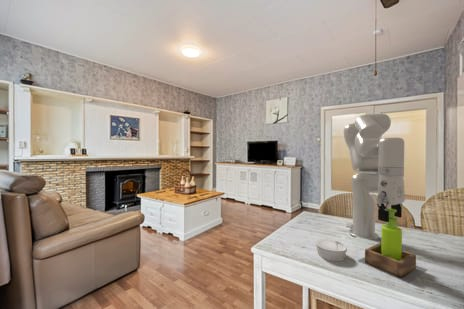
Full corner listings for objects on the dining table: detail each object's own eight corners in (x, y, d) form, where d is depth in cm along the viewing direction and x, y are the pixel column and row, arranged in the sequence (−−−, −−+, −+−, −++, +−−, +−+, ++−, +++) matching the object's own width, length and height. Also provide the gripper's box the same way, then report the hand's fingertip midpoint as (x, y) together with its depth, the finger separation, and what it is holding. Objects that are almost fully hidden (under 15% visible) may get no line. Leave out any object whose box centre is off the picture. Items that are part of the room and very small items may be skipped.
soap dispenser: (379, 257, 81) (380, 205, 81) (402, 263, 76) (403, 209, 76) (376, 262, 77) (376, 208, 77) (400, 270, 72) (400, 212, 72)
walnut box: (364, 262, 79) (365, 249, 79) (380, 255, 85) (380, 242, 84) (401, 278, 69) (401, 263, 69) (415, 268, 75) (416, 254, 75)
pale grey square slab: (357, 263, 80) (357, 260, 80) (377, 253, 88) (377, 251, 88) (409, 286, 67) (409, 283, 67) (427, 272, 74) (427, 269, 74)
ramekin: (353, 263, 81) (353, 249, 80) (327, 266, 78) (327, 252, 78) (333, 249, 92) (333, 237, 91) (310, 252, 89) (310, 240, 89)
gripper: (391, 174, 69) (390, 226, 69) (413, 171, 77) (412, 217, 78) (366, 172, 75) (366, 219, 75) (390, 169, 84) (389, 212, 84)
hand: (390, 218), depth 77 cm, fingers open, 9 cm apart
